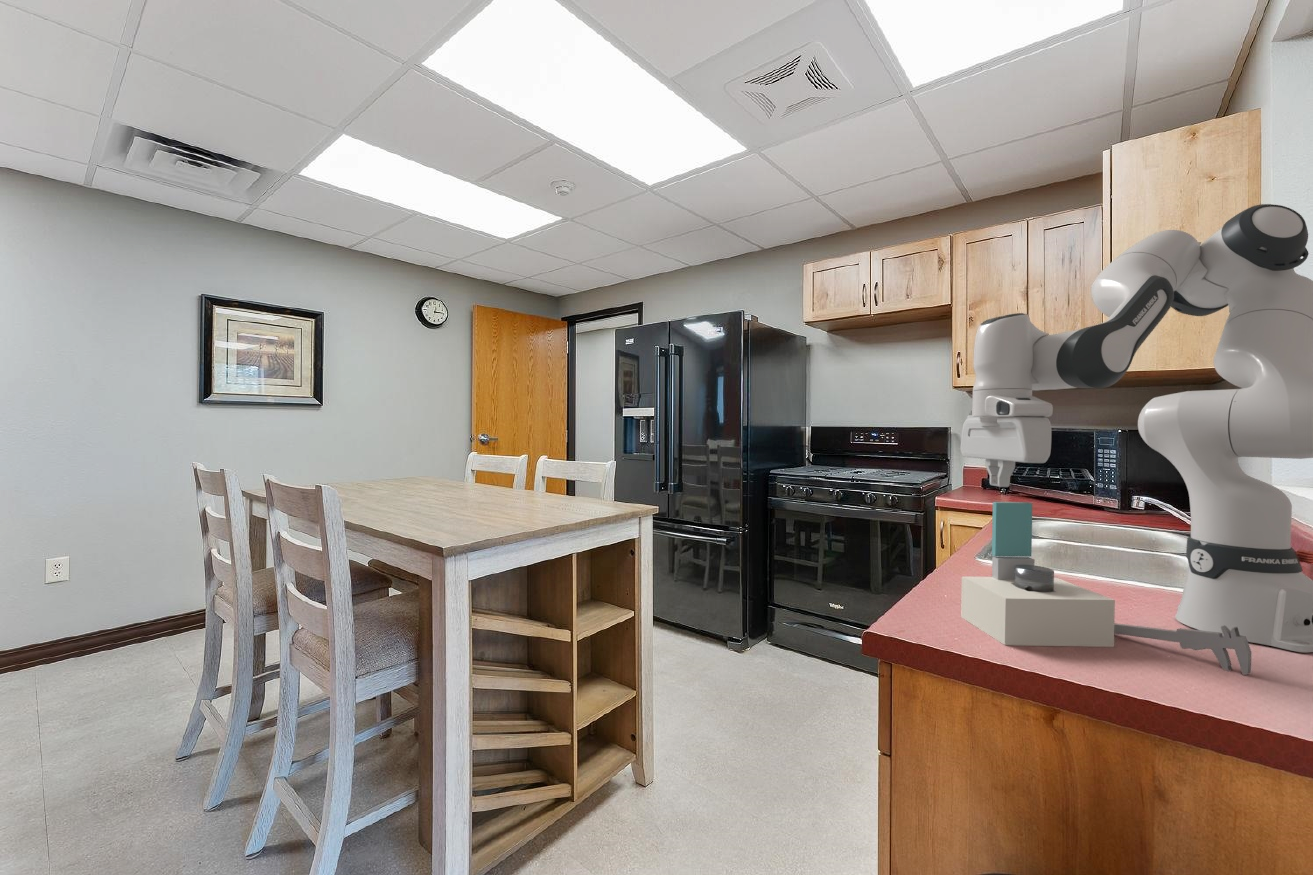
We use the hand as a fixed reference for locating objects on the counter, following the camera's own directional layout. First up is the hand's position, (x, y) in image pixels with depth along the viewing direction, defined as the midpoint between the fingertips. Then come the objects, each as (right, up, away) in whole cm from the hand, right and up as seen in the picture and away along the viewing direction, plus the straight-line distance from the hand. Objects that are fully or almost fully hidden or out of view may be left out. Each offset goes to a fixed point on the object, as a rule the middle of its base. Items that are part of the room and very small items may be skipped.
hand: (999, 486), depth 95 cm
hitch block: (0, -22, -9) cm, 24 cm away
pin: (0, -22, -9) cm, 24 cm away
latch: (0, -7, -4) cm, 8 cm away
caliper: (+13, -23, -15) cm, 30 cm away
